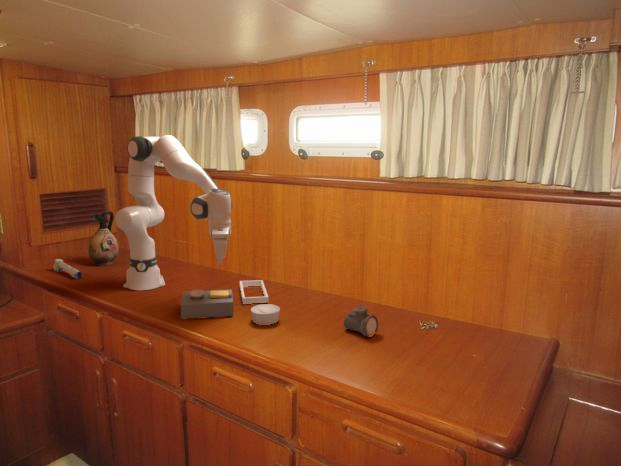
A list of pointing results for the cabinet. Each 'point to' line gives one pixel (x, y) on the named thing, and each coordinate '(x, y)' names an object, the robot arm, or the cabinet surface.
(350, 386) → the cabinet surface
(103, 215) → the ceramic jug
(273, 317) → the ramekin
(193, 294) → the steel peg
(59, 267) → the beige knobbed rod
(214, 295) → the yellow rectangular slab
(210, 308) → the hitch block
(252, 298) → the rectangular frame
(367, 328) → the pipe fitting
